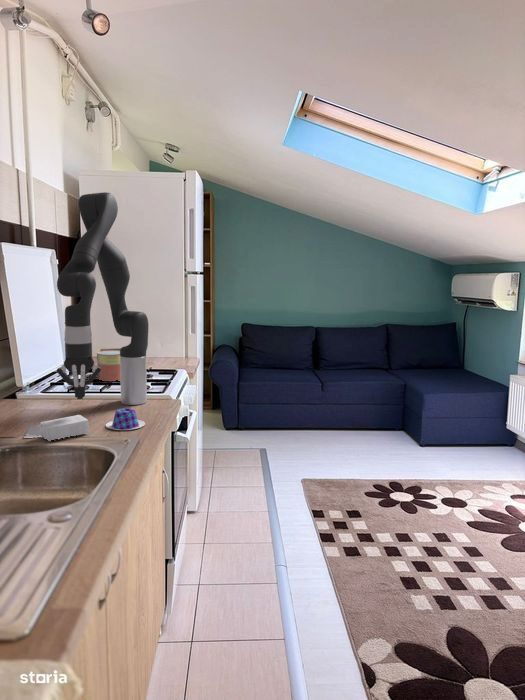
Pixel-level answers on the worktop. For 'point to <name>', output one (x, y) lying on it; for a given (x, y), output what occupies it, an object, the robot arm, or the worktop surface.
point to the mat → (34, 431)
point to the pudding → (125, 420)
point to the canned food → (109, 365)
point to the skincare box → (64, 427)
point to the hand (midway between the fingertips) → (80, 398)
